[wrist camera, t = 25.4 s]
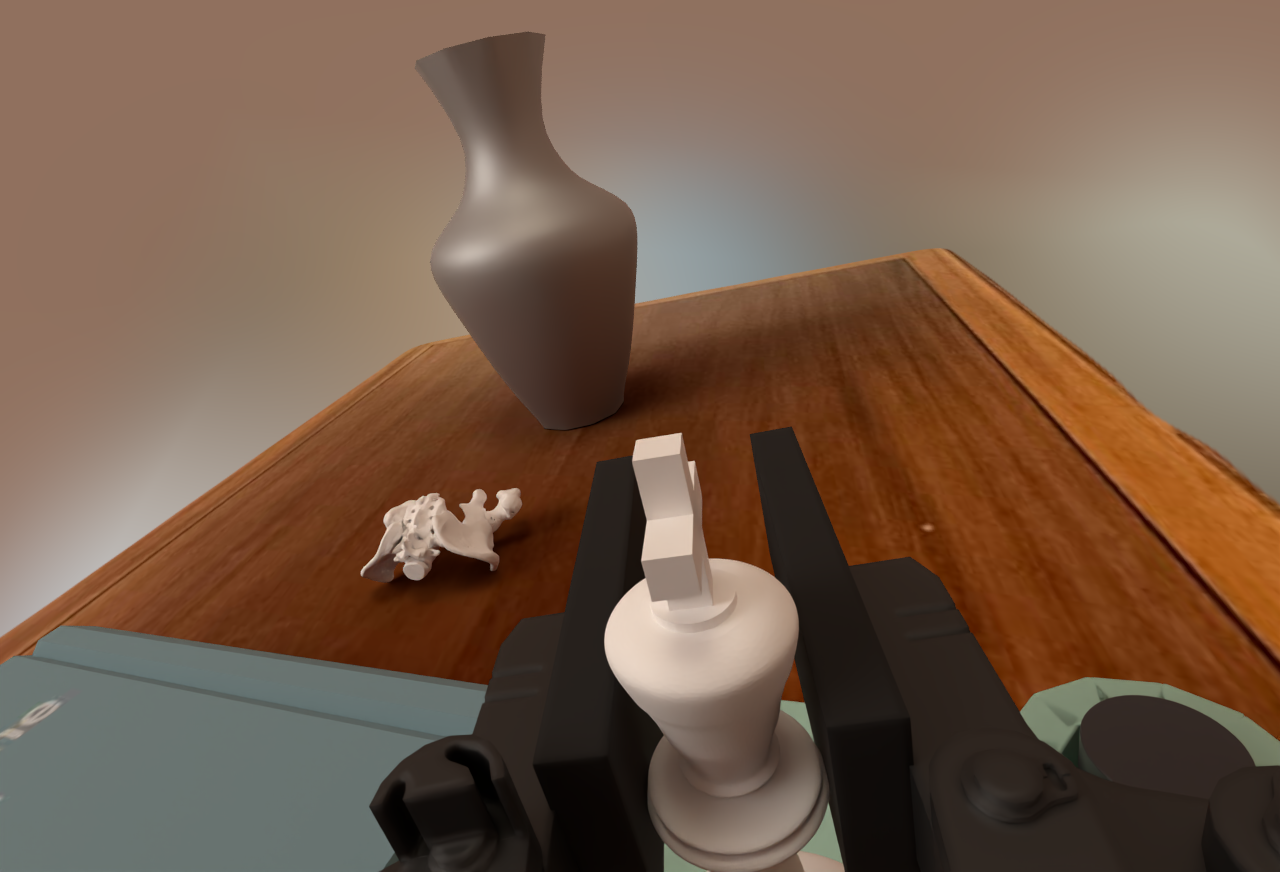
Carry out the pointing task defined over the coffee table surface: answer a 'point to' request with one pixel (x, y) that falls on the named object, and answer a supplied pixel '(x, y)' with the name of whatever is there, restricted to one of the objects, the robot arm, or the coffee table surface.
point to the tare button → (1158, 746)
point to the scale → (1055, 736)
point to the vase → (532, 240)
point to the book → (204, 755)
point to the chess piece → (715, 688)
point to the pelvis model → (439, 534)
